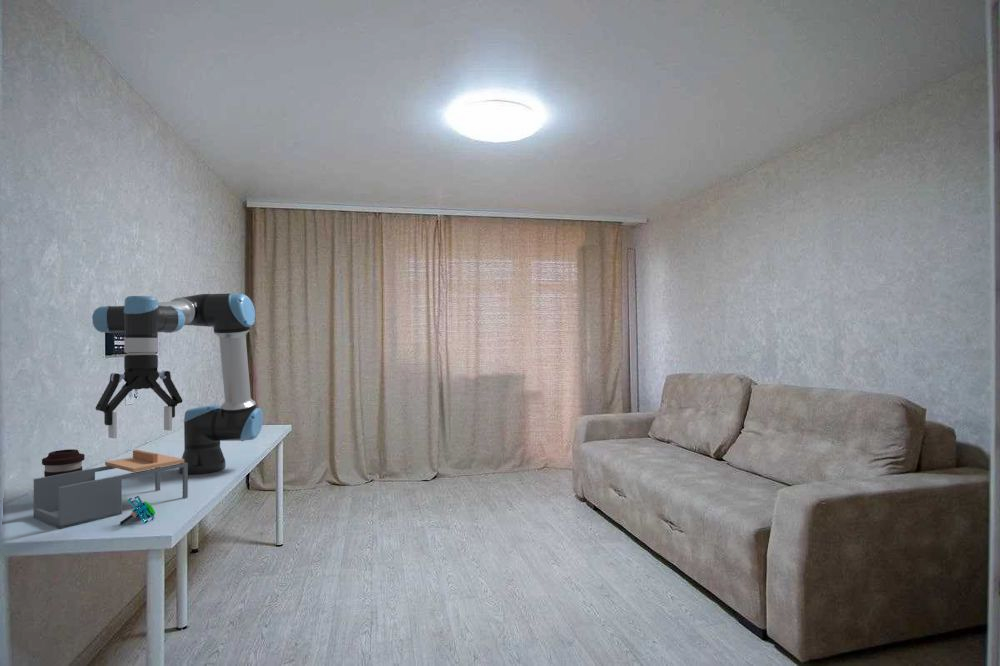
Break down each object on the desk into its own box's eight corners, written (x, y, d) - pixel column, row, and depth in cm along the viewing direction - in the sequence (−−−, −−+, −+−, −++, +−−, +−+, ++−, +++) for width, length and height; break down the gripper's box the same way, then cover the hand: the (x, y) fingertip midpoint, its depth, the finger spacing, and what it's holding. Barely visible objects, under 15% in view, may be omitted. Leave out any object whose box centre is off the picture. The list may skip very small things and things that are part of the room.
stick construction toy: (150, 517, 142) (132, 493, 142) (123, 536, 139) (105, 511, 140) (164, 516, 153) (148, 494, 153) (140, 534, 150) (123, 511, 151)
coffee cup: (42, 501, 164) (42, 450, 164) (84, 495, 170) (84, 446, 170) (40, 509, 156) (40, 456, 156) (84, 502, 162) (84, 451, 162)
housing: (158, 489, 176) (158, 456, 176) (187, 497, 167) (187, 462, 167) (33, 517, 149) (33, 479, 149) (60, 529, 140) (60, 487, 140)
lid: (155, 456, 175) (155, 445, 175) (184, 462, 166) (184, 450, 166) (105, 465, 163) (105, 453, 163) (133, 472, 154) (133, 459, 154)
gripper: (181, 352, 159) (181, 426, 159) (79, 355, 138) (79, 439, 138) (195, 352, 155) (196, 428, 155) (93, 355, 134) (93, 442, 134)
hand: (141, 433), depth 147 cm, fingers open, 13 cm apart
